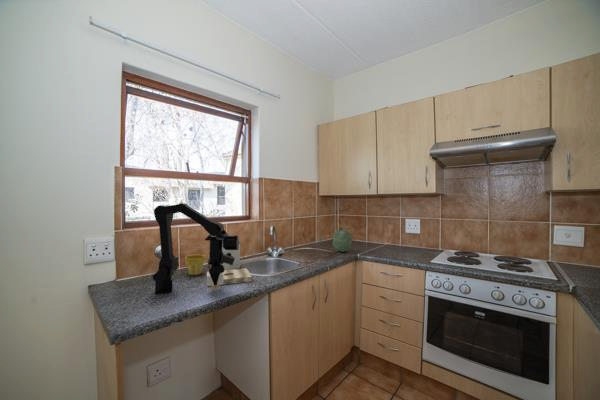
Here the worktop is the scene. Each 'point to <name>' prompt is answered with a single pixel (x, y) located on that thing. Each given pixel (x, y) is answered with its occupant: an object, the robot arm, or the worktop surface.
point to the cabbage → (342, 240)
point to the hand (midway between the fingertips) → (215, 283)
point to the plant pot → (195, 264)
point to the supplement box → (236, 262)
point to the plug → (220, 281)
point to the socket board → (236, 276)
